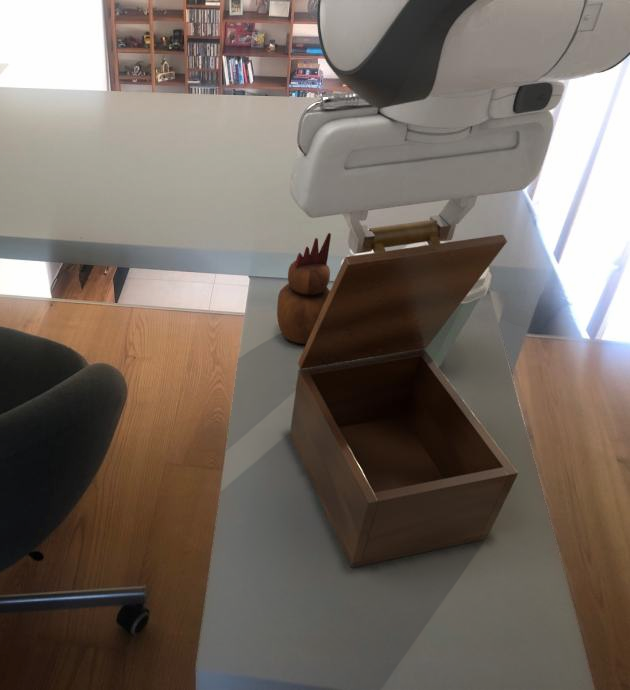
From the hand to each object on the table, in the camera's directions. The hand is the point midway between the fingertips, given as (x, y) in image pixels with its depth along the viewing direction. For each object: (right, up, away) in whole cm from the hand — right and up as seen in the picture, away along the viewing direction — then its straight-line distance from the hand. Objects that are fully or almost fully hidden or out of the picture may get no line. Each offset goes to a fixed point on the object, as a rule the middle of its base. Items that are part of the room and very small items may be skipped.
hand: (399, 243), depth 60 cm
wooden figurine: (-3, -8, +30) cm, 31 cm away
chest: (+2, -23, +11) cm, 26 cm away
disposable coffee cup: (+10, -11, +26) cm, 30 cm away
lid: (0, -6, +3) cm, 7 cm away
